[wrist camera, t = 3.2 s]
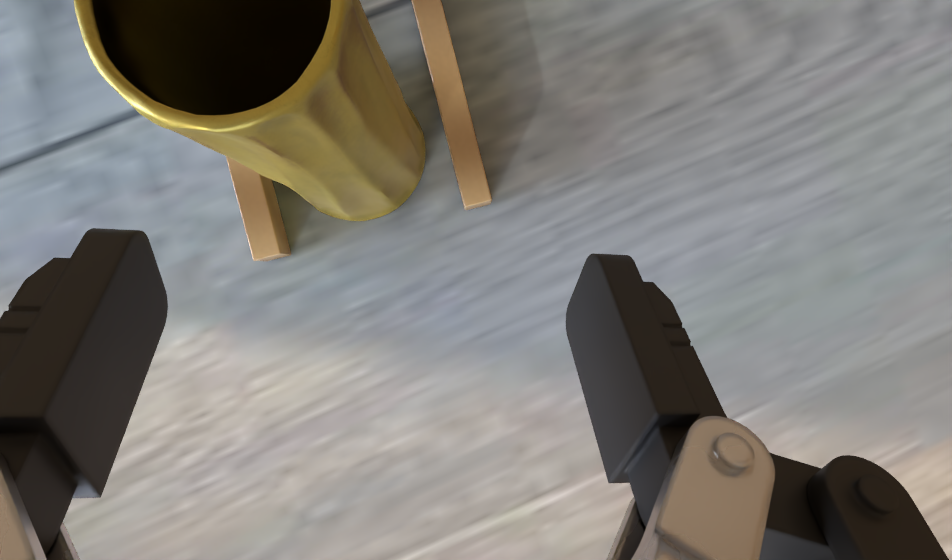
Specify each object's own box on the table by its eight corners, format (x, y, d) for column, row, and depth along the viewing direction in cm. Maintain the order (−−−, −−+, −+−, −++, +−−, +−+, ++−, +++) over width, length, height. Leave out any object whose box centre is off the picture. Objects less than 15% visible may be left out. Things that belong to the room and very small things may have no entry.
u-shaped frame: (490, 204, 25) (493, 196, 23) (265, 261, 25) (243, 260, 22) (381, -226, 25) (371, -283, 22) (152, -170, 25) (116, -219, 22)
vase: (274, 102, 25) (11, -126, 11) (408, 70, 25) (326, -200, 11) (307, 235, 25) (91, 187, 11) (440, 203, 25) (402, 113, 11)
